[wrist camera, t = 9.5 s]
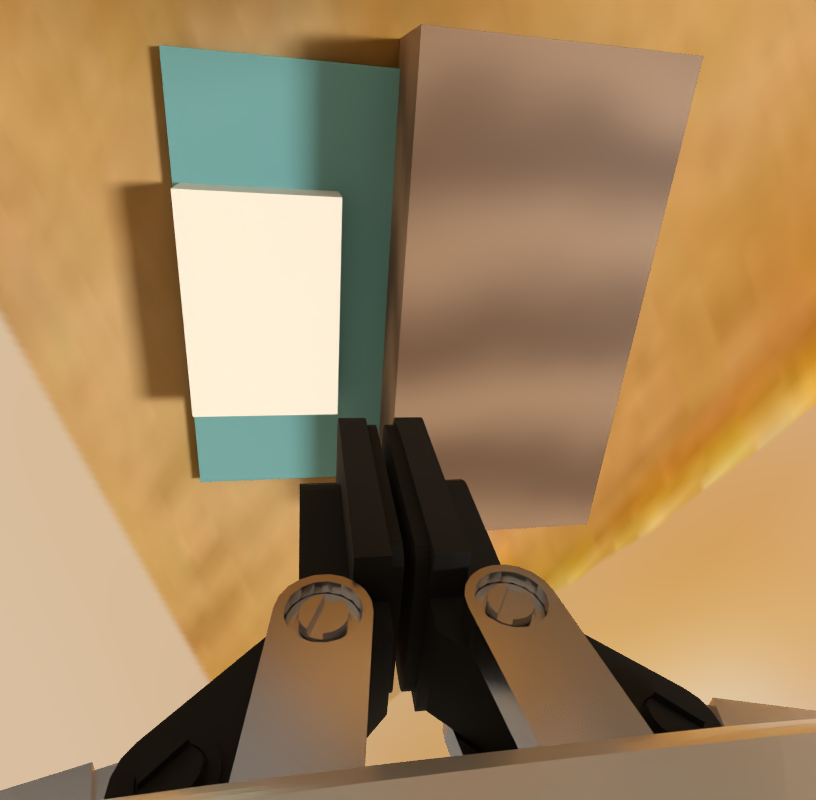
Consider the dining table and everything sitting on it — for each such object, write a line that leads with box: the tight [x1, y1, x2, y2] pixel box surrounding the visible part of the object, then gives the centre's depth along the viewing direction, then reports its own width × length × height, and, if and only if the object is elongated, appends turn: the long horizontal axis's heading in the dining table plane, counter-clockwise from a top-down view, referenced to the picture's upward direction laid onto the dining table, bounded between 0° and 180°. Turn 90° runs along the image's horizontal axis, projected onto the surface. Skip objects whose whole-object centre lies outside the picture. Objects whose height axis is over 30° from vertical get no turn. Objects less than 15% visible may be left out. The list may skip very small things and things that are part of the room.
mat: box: [159, 45, 400, 482], centre depth 25 cm, size 18×8×1 cm, turn 176°
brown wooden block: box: [379, 24, 703, 530], centre depth 25 cm, size 20×10×4 cm, turn 176°
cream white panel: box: [171, 183, 342, 417], centre depth 24 cm, size 9×6×2 cm, turn 176°
